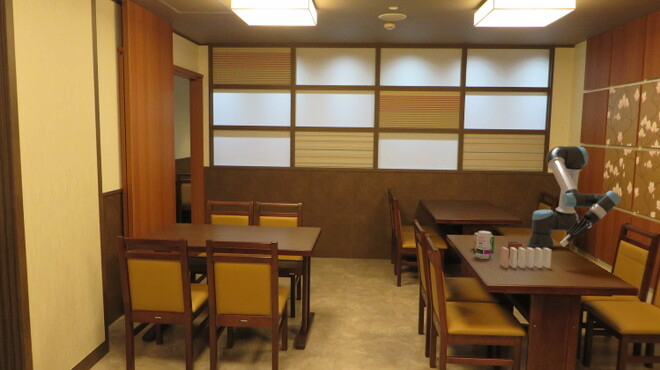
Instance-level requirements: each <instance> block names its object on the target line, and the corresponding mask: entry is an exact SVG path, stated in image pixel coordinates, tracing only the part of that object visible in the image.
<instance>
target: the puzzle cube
mask: <svg viewBox="0 0 660 370" xmlns="http://www.w3.org/2000/svg"><path fill="white" fill-rule="evenodd" d="M477 233H478V232H474V234H473V243H472V244H473V249H474V251H475V252H476V246H477ZM494 245H495V236H494V235H492V245H491V254H493V253H494V249H495V248H494Z"/></svg>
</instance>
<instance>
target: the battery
mask: <svg viewBox="0 0 660 370" xmlns="http://www.w3.org/2000/svg"><path fill="white" fill-rule="evenodd" d="M510 247H514V248H516V249H518V247H522V248H523V243H522V242H520V240H517V241H514V240H510V241H508V242H507V248H508V249H509V257H510ZM517 260H518V252H517Z"/></svg>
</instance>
